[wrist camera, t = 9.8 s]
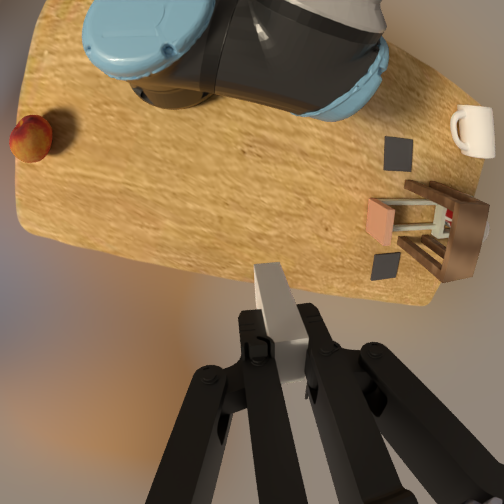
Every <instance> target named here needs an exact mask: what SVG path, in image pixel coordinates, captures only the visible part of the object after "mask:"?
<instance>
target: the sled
mask: <svg viewBox="0 0 504 504" xmlns="http://www.w3.org/2000/svg"><path fill="white" fill-rule="evenodd" d="M465 194H467V193H465ZM467 195H469V194H467ZM469 196H471V195H469ZM471 197H473V196H471ZM388 205H436V208H435V215H434V221H433V223H424V224H401V225H393V223H394V215H395V209H393V208H391V207H390V206H388ZM446 211H447V208H445V207H443V206H441V205H439V204H437V203H435V202H433V201H431V200H429V199H376V198H369V202H368V213H367V223H366V232H368V233H369V234H370V235H371V236H372V237H373V238H375V239H376V240H377V241H378V242H379V243H380V244H382V245H383V246H388V245H390V244H391V237H392V231H409V230H426V229H432V232H431V234H432V235H433V236H435V237H436V238H438V239H440V238H449V233H450V229H444V225H445V214H446Z"/></svg>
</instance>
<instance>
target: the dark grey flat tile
mask: <svg viewBox="0 0 504 504" xmlns="http://www.w3.org/2000/svg"><path fill="white" fill-rule="evenodd" d="M399 258H400V252H395V253H385V254H375V255H374V262H373V268H372V274H371V279H370V280H371V281H374V280H381V279H388V278H395V277H396V273H397V268H398V263H399Z"/></svg>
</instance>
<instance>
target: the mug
mask: <svg viewBox="0 0 504 504" xmlns="http://www.w3.org/2000/svg"><path fill="white" fill-rule="evenodd" d="M458 120H459V130H460V139H459V137H458V134H457V126H456V125H457V121H458ZM450 128H451V134H452V137H453V140H454V142H455V144H456V145H457V146H458V147H459V148H460V149H461V153H462V154H464V155H467V156H471V157H476V158H486V159H490V158H495V134H494V121H493V110H492V108H491V107H482V106H471V105H457V111H456V112H455V113H454V114H453V115H452V117H451V121H450Z"/></svg>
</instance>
